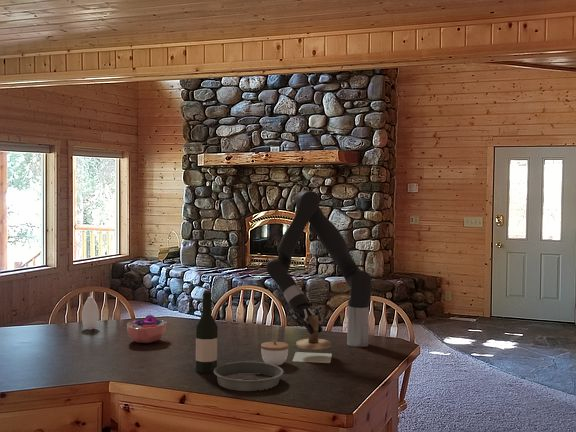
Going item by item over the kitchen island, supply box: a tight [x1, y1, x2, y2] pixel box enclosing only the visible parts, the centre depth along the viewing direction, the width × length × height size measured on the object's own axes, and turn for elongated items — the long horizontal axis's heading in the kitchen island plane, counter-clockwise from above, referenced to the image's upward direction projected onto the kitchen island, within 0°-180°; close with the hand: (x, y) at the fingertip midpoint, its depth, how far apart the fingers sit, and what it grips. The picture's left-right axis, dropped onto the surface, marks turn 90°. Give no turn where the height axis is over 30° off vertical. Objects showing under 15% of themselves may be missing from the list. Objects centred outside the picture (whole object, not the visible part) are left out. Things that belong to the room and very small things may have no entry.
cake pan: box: [213, 361, 284, 392], centre depth 235 cm, size 25×25×4 cm
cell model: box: [126, 314, 168, 344], centre depth 292 cm, size 17×20×11 cm
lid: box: [295, 315, 332, 351], centre depth 269 cm, size 14×14×12 cm
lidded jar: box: [260, 339, 289, 366], centre depth 259 cm, size 11×11×9 cm
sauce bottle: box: [81, 291, 100, 331], centre depth 316 cm, size 8×8×18 cm
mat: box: [291, 351, 333, 364], centre depth 270 cm, size 15×15×1 cm
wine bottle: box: [195, 289, 219, 374], centre depth 248 cm, size 8×8×30 cm
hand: (316, 332), depth 268 cm, fingers closed on lid, 4 cm apart
